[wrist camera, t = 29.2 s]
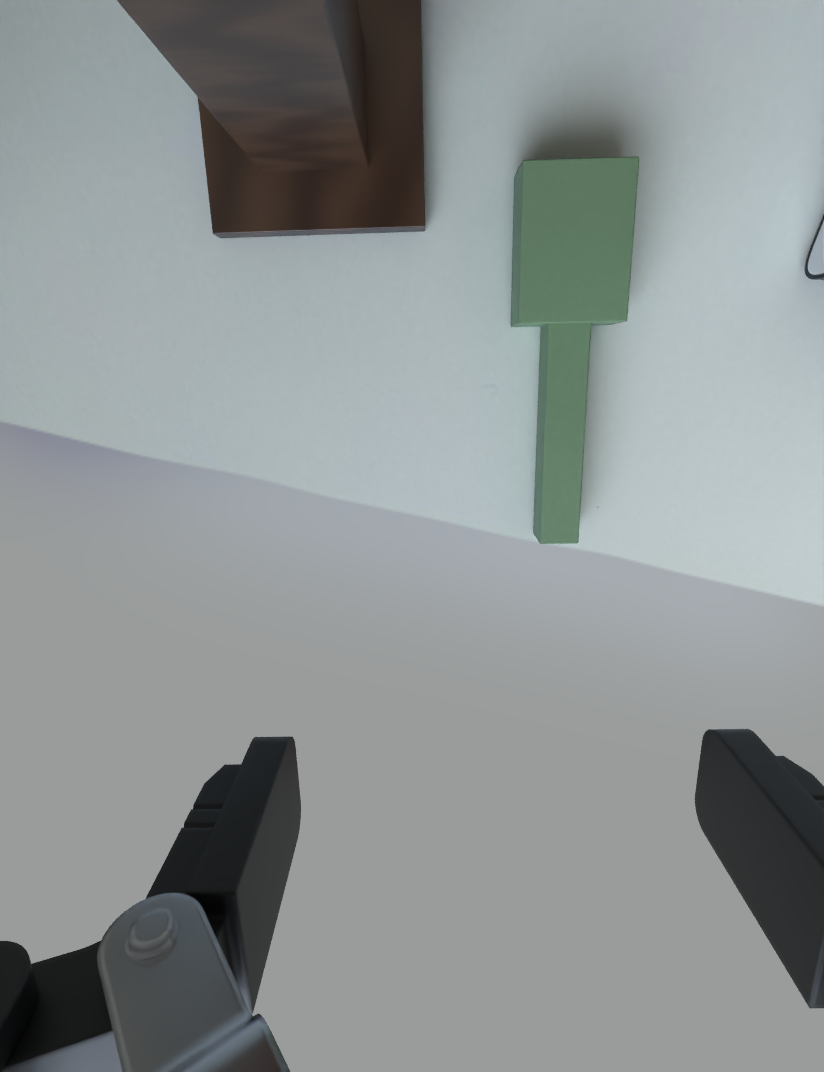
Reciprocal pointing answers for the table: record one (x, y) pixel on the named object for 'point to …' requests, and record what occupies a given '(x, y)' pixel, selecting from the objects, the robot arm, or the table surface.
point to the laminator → (816, 256)
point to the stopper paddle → (568, 306)
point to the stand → (302, 110)
